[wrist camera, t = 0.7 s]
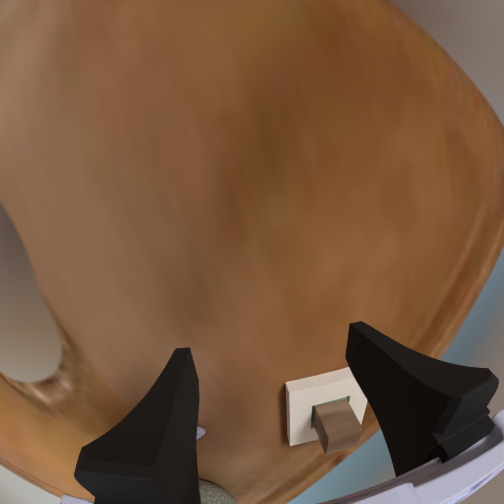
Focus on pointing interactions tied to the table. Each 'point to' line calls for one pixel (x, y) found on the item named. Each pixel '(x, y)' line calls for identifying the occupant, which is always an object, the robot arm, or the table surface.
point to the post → (336, 425)
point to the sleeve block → (319, 401)
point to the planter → (214, 494)
